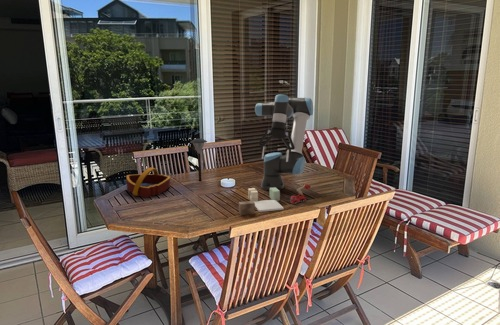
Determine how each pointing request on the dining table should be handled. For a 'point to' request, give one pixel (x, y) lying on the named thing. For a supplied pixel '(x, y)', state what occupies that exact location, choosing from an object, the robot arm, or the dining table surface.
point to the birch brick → (253, 194)
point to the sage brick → (274, 194)
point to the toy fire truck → (300, 197)
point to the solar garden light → (198, 146)
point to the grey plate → (268, 205)
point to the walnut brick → (246, 207)
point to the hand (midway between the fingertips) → (274, 160)
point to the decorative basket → (148, 183)
